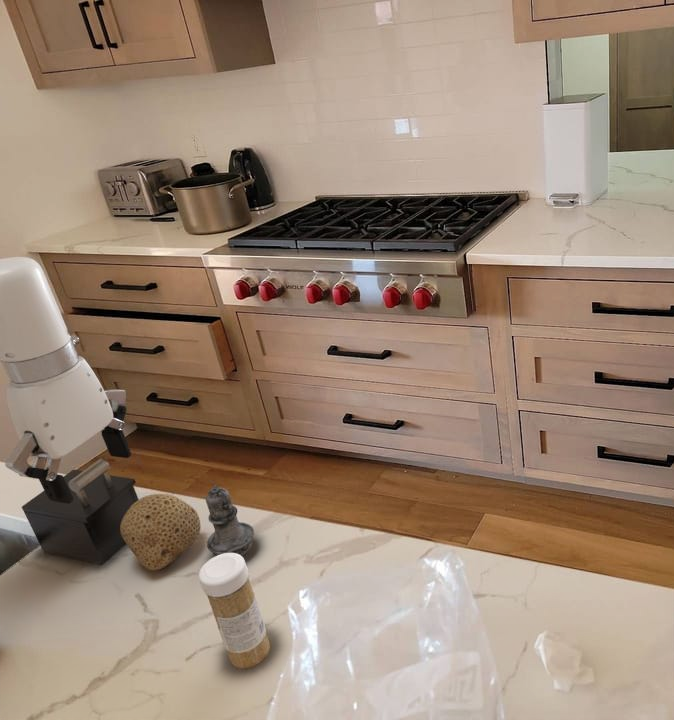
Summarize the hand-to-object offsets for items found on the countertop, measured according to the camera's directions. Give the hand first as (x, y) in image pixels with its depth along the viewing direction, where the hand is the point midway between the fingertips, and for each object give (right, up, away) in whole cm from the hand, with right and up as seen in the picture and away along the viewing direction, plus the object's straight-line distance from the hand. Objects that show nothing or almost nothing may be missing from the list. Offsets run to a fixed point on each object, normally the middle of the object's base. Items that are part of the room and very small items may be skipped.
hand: (93, 477), depth 89 cm
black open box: (-3, -10, +6) cm, 12 cm away
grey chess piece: (+18, -11, +1) cm, 22 cm away
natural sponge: (+10, -11, +2) cm, 15 cm away
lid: (-3, -3, +2) cm, 5 cm away
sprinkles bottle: (+25, -18, -14) cm, 34 cm away
